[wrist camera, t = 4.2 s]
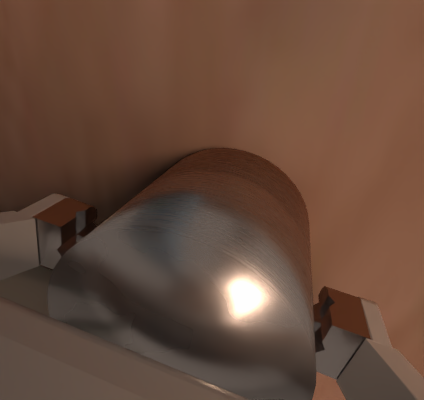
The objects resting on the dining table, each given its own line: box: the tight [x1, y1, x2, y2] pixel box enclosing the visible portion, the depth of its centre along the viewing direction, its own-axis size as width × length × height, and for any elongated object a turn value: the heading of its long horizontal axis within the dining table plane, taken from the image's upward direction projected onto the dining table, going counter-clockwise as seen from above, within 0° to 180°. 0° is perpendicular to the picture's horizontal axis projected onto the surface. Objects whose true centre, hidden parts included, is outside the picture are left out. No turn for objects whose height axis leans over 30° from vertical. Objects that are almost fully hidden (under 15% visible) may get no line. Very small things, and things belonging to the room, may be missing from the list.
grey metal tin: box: [47, 148, 316, 400], centre depth 9 cm, size 6×6×6 cm
